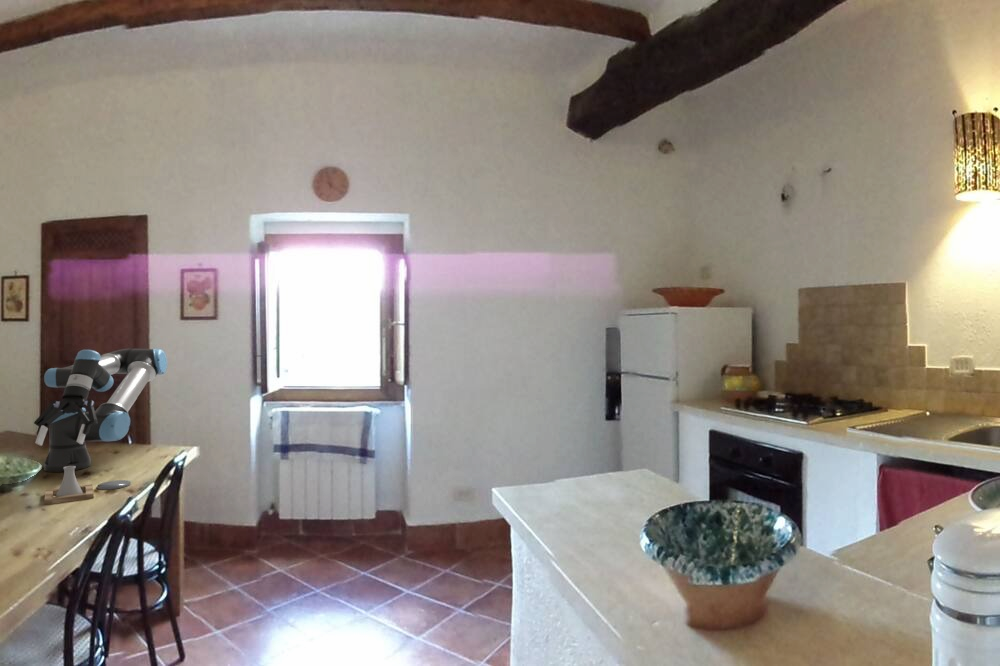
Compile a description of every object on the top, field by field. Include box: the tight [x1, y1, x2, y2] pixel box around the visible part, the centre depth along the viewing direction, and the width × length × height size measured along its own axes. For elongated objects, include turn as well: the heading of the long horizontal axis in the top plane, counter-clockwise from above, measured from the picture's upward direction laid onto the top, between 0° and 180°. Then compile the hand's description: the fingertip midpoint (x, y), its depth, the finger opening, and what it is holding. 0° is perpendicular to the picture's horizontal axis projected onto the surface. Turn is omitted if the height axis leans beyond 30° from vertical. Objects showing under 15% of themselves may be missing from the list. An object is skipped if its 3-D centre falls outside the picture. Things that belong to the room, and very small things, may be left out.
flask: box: [55, 466, 84, 497], centre depth 199 cm, size 7×7×10 cm
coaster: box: [96, 479, 132, 491], centre depth 212 cm, size 10×10×1 cm
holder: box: [44, 484, 95, 506], centre depth 199 cm, size 13×13×2 cm
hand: (59, 443), depth 208 cm, fingers open, 13 cm apart
